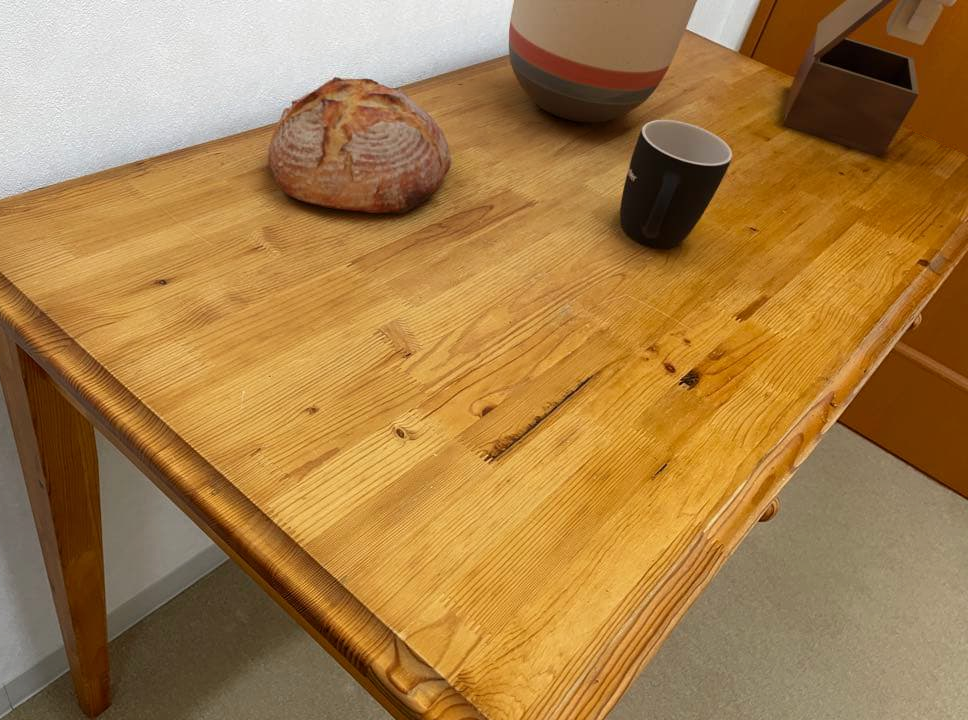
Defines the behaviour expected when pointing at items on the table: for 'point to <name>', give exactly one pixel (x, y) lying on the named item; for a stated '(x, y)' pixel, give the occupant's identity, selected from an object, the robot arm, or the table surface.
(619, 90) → the planter
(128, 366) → the table surface
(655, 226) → the mug
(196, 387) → the table surface
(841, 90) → the chest
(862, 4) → the lid
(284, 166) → the bread
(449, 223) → the table surface
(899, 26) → the block
